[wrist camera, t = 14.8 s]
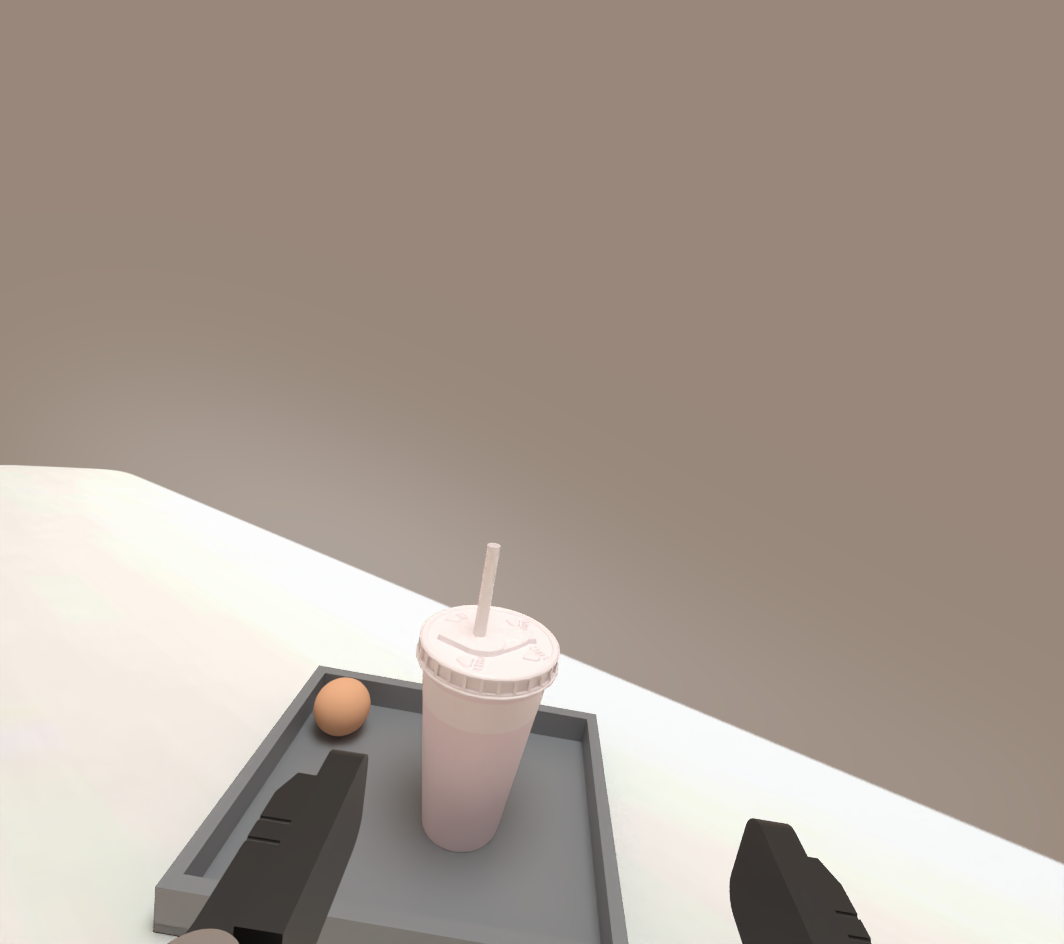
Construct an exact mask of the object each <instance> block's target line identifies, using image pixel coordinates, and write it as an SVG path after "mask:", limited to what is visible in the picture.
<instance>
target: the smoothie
mask: <svg viewBox="0 0 1064 944" xmlns="http://www.w3.org/2000/svg"><path fill="white" fill-rule="evenodd" d="M499 552H500V545H499V544H496V543H489V544H488V546H487V552H486V559H485V565H484V571H483V577H482V584H481V589H480V596H479V601H478V605H465V606H457V607H452V608H449V609H445V610H443V611H440V612H438V613H436V614H434V615H433V616H431V617H430V618H428V619H427V620H426V621H425V623H424V624H423V625H422V627H421V630H420V637H419V643H418V644H417V652H416V657H417V659H418V662H419V664H420V667H421V668H422V669H423V686H422V694H423V716H422V825H423V828H424V831H425V833H426V834H427V836H428V837H429V838H430V839H431V841H433V842H434V843H435V844H436V845H438V846H439V847H441V848H443V849H446V850H449V851H453V852H470V851H474V850H477V849H479V848H481V847H483V846H485V845H486V844H487V843H488V842H489V841H490V840H491V839H492V838H493V837H494V835H495V833H496V831H497V828H498V825H499V822H500V819H501V816H502V813H503V810H504V807H505V804H506V801H507V798H508V795H509V793H510V790H511V787H512V784H513V781H514V778H515V775H516V772H517V769H518V766H519V763H520V760H521V757H522V754H523V751H524V748H525V746H526V743H527V740H528V737H529V734H530V731H531V728H532V725H533V722H534V719H535V716H536V713H537V711H538V708H539V705H540V702H541V699H542V696H543V693H544V690H545V689H546V688H547V687H549V686H550V685H551V684H552V683H553V681H554V679H555V678H556V676H557V672H558V659H559V655H560V648H559V644H558V642H557V640H556V638H555V637H554V635H553V634H552V633H551V632H550V631H549V630H548V629H546V627H544V626H543V625H542V624H541V623H539V622H538V621H536V620H534V619H532V618H530V617H528V616H526V615H524V614H521V613H518V612H516V611H513V610H509V609H505V608H501V607H494V606H491V600H492V594H493V588H494V582H495V576H496V570H497V564H498V558H499Z"/></svg>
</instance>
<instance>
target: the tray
mask: <svg viewBox="0 0 1064 944" xmlns="http://www.w3.org/2000/svg"><path fill="white" fill-rule="evenodd" d="M343 677H348V678H353V679H356V680H358V681H360V682H361V683H362V684H363V685H364V686H365V687H366V688H367V690H368V692H369V695H370V701H371V705H370V711H369V714H368V717H367V718H366V720H365V722H364V723H363V724H362V726H361V727H359V728H358V729H357V730H356V731H354V732H352V733H351V734H348V735H344V736H332V735H329V734H327V733H325V732H324V731H322V730H321V729H320V728H319V727H318V725H317V723H316V721H315V718H314V713H313V708H314V703H315V700H316V697H317V695H318V693H319V692H320V691H321V689H322V688H323V687H324V686H325V685H326V684H328V683H329V682H331V681H333V680H335V679H338V678H343ZM422 686H423V684H420V683H415V682H409V681H403V680H398V679H392V678H386V677H381V676H375V675H369V674H364V673H358V672H352V671H347V670H341V669H335V668H330V667H324V666H319V667H318V668H317V669H316V671H315V672H314V673H313V675H312V676H311V677H310V679H309V680H308V681H307V683H306V684H305V685H304V687H303V688H302V690H301V691H300V692H299V694H298V695H297V696H296V698H295V699H294V700H293V702H292V703H291V704H290V706H289V707H288V708H287V710H286V711H285V712H284V714H283V715H282V717H281V718H280V719H279V721H278V722H277V723H276V725H275V726H274V727H273V729H272V730H271V731H270V733H269V734H268V735H267V737H266V738H265V739H264V741H263V742H262V744H261V745H260V746H259V748H258V749H257V750H256V752H255V753H254V754H253V756H252V757H251V758H250V760H249V761H248V762H247V764H246V765H245V766H244V768H243V769H242V771H241V772H240V773H239V775H238V776H237V777H236V779H235V780H234V781H233V783H232V784H231V785H230V787H229V788H228V789H227V791H226V792H225V793H224V795H223V796H222V798H221V799H220V800H219V802H218V803H217V804H216V806H215V807H214V808H213V810H212V811H211V812H210V814H209V815H208V816H207V818H206V819H205V820H204V822H203V823H202V825H201V826H200V827H199V829H198V830H197V831H196V833H195V834H194V835H193V837H192V838H191V839H190V841H189V842H188V843H187V845H186V846H185V847H184V849H183V850H182V852H181V853H180V854H179V856H178V857H177V858H176V860H175V861H174V862H173V864H172V865H171V866H170V868H169V869H168V870H167V872H166V873H165V875H164V876H163V877H162V879H161V880H160V881H159V883H158V884H157V885H156V887H155V905H154V927H153V932H159V933H165V934H171V935H177V936H182V935H184V934H185V933H186V932H187V930H188V929H189V928H190V927H191V925H192V924H193V922H194V921H195V920H196V918H197V916H198V915H199V913H200V912H201V910H202V908H203V907H204V905H205V903H206V902H207V900H208V899H209V897H210V895H211V894H212V892H213V891H214V889H215V887H216V886H217V884H218V883H219V881H220V879H221V878H222V876H223V875H224V873H225V871H226V870H227V868H228V867H229V865H230V863H231V862H232V860H233V859H234V857H235V855H236V854H237V852H238V851H239V849H240V847H241V846H242V844H243V842H244V841H246V840H247V837H248V834H249V833H250V831H251V830H252V828H253V826H254V825H255V823H256V822H257V820H259V819H260V815H261V814H262V812H263V810H264V809H265V807H266V806H267V804H268V802H269V801H270V799H271V798H272V796H273V794H274V793H275V791H276V790H278V789H279V788H280V787H281V786H282V785H284V784H285V783H286V782H287V781H289V780H290V779H291V778H292V777H293V776H295V775H296V774H297V773H304V774H311V775H317V774H318V772H319V770H320V768H321V766H322V764H323V763H324V761H325V759H326V757H327V755H328V754H329V752H330V751H331V750H332V749H338V750H345V751H351V752H357V753H363V754H368V769H367V778H366V787H365V796H364V805H363V814H362V820H361V825H360V829H359V833H358V837H357V840H356V843H355V846H354V849H353V852H352V854H351V857H350V860H349V862H348V865H347V867H346V870H345V872H344V875H343V877H342V880H341V882H340V885H339V887H338V890H337V893H336V895H335V898H334V900H333V903H332V905H331V908H330V910H329V913H328V915H327V918H326V921H325V923H324V926H323V928H322V931H321V933H320V936H319V938H318V941H317V943H316V944H628V937H627V930H626V923H625V916H624V909H623V902H622V895H621V888H620V881H619V874H618V867H617V860H616V853H615V846H614V839H613V832H612V825H611V818H610V810H609V803H608V796H607V789H606V782H605V775H604V768H603V761H602V754H601V747H600V740H599V733H598V726H597V719H596V714H590V713H584V712H579V711H573V710H567V709H562V708H556V707H550V706H545V705H539V708H538V711H537V713H536V716H535V719H534V722H533V725H532V728H531V731H530V734H529V737H528V740H527V743H526V746H525V748H524V751H523V754H522V757H521V760H520V763H519V766H518V769H517V772H516V775H515V778H514V781H513V784H512V787H511V790H510V793H509V795H508V798H507V801H506V804H505V807H504V810H503V813H502V816H501V819H500V822H499V825H498V828H497V831H496V833H495V835H494V837H493V838H492V839H491V840H490V841H489V842H488V843H487V844H486V845H485V846H483V847H481V848H479V849H477V850H474V851H470V852H453V851H449V850H446V849H443V848H441V847H439V846H438V845H436V844H435V843H434V842H433V841H431V839H430V838H429V837H428V836H427V834H426V833H425V831H424V828H423V825H422V716H423V694H422Z"/></svg>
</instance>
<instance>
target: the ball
mask: <svg viewBox="0 0 1064 944" xmlns="http://www.w3.org/2000/svg"><path fill="white" fill-rule="evenodd" d="M370 705H371V701H370V695H369V692H368V690H367V688H366V687H365V686H364V685H363V684H362V683H361V682H360V681H358V680H356V679H353V678H348V677H343V678H338V679H335V680H333V681H331V682H329V683H328V684H326V685H325V686H324V687H323V688H322V689H321V691H320V692H319V693H318V695H317V697H316V700H315V703H314V708H313V713H314V718H315V721H316V723H317V725H318V727H319V728H320V729H321V730H322V731H324V732H325V733H327V734H329V735H332V736H344V735H348V734H351V733H352V732H354V731H356V730H357V729H358V728H359V727H361V726H362V724H363V723H364V722H365V720H366V718H367V717H368V714H369V711H370Z"/></svg>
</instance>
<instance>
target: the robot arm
mask: <svg viewBox="0 0 1064 944" xmlns="http://www.w3.org/2000/svg"><path fill="white" fill-rule="evenodd" d="M367 769H368V754H363V753H357V752H351V751H345V750H338V749H332V750H331V751H330V752H329V754H328V755H327V757H326V759H325V761H324V763H323V764H322V766H321V768H320V770H319V772H318V774H317V775H311V774H304V773H297V774H296V775H295V776H293V777H292V778H291V779H290V780H289V781H287V782H286V783H285V784H284V785H282V786H281V787H280V788H279V789H278V790H276V791H275V793H274V794H273V796H272V798H271V799H270V801H269V802H268V804H267V806H266V807H265V809H264V810H263V812H262V814H261V815H260V819H259V820H257V822H256V823H255V825H254V826H253V828H252V830H251V831H250V833H249V834H248V837H247V840H246V841H244V842H243V844H242V846H241V847H240V849H239V851H238V852H237V854H236V855H235V857H234V859H233V860H232V862H231V863H230V865H229V867H228V868H227V870H226V871H225V873H224V875H223V876H222V878H221V879H220V881H219V883H218V884H217V886H216V887H215V889H214V891H213V892H212V894H211V895H210V897H209V899H208V900H207V902H206V903H205V905H204V907H203V908H202V910H201V912H200V913H199V915H198V916H197V918H196V920H195V921H194V922H193V924H192V925H191V927H190V928H189V929H188V930H187V932H186V933H185V934H184V935H182V936H180V937H178V938H176V939H174V940H173V941H171V942H170V943H168V944H316V943H317V941H318V938H319V936H320V933H321V931H322V928H323V926H324V923H325V921H326V918H327V915H328V913H329V910H330V908H331V905H332V903H333V900H334V898H335V895H336V893H337V890H338V887H339V885H340V882H341V880H342V877H343V875H344V872H345V870H346V867H347V865H348V862H349V860H350V857H351V854H352V852H353V849H354V846H355V843H356V840H357V837H358V833H359V829H360V825H361V820H362V814H363V805H364V796H365V787H366V778H367ZM730 902H731V908H732V912H733V916H734V919H735V922H736V925H737V928H738V931H739V934H740V937H741V940H742V943H743V944H871V938H870V936H869V934H868V933H867V931H866V929H865V927H864V925H863V924H862V922H861V920H858V918H857V913H856V911H855V909H854V907H853V905H852V903H851V902H850V900H849V898H848V896H847V894H846V892H845V891H844V889H843V887H842V885H841V884H840V883H839V882H838V881H837V879H836V878H835V877H834V876H833V875H832V874H831V873H830V872H829V871H828V869H827V868H826V867H825V866H824V865H823V864H822V863H821V862H820V860H819V859H818V858H812V857H808V856H807V854H806V853H805V851H804V849H803V847H802V845H801V843H800V841H799V839H798V837H797V835H796V833H795V831H794V830H793V828H792V827H791V826H790V825H788V824H784V823H778V822H772V821H766V820H760V819H754V818H751V819H750V820H749V821H748V822H747V824H746V827H745V830H744V834H743V837H742V840H741V843H740V847H739V850H738V853H737V857H736V860H735V863H734V867H733V870H732V873H731V878H730Z"/></svg>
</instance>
